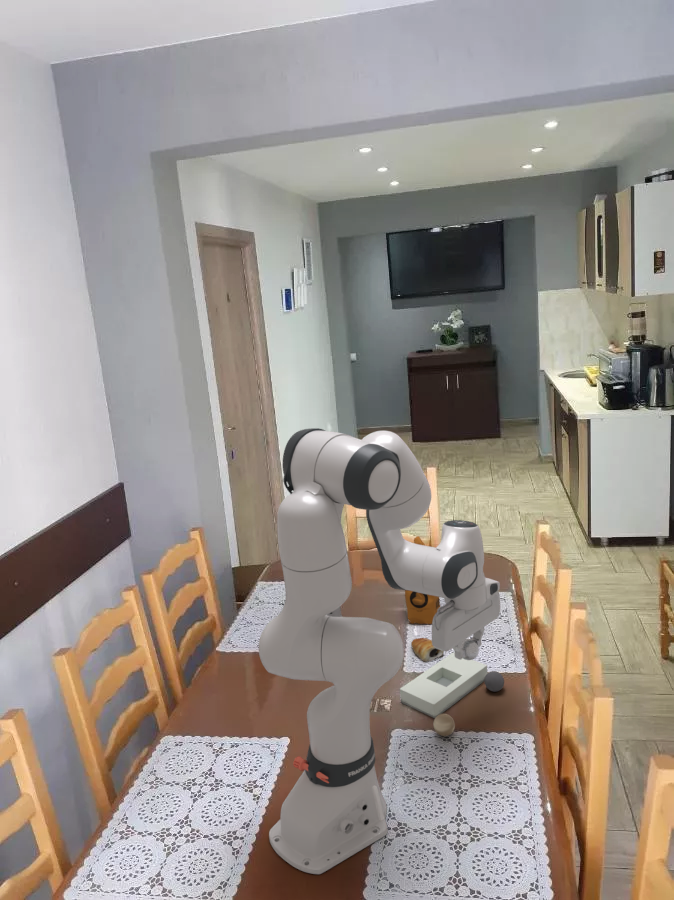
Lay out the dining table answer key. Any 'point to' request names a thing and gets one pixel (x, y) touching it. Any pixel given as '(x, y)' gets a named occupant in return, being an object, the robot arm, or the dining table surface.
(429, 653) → the pastry
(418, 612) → the coffee package
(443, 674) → the pocket board
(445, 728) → the ash ball
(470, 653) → the steel ball
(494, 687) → the rubber ball
